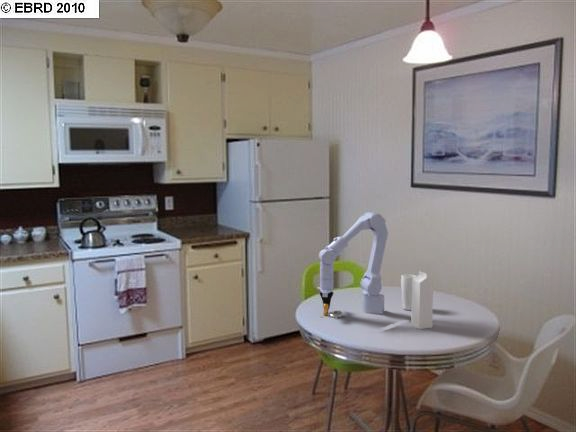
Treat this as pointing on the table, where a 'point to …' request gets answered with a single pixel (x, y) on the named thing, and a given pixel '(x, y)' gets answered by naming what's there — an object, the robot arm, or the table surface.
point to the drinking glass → (406, 291)
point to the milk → (422, 301)
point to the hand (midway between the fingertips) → (326, 309)
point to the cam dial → (333, 314)
